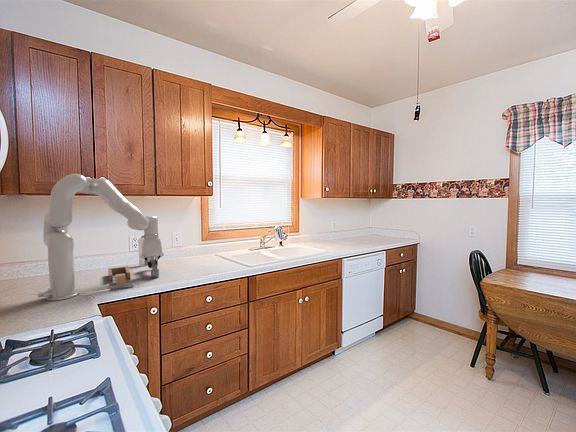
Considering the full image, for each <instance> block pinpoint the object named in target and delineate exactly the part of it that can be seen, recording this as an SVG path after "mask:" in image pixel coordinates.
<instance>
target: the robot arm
mask: <svg viewBox="0 0 576 432" xmlns="http://www.w3.org/2000/svg"><path fill="white" fill-rule="evenodd" d="M76 193H82V194H86V195H87V194H89V195H97V196H99V197H100V198H101V199H102V200H103V201H104V203H106V204H107V206H108V207H109V208H111V209H112V210H113V211H114V212H115V213H118V214H119V215H122V216H123V217H124V218H125V219H126V220H127V226H128V227H129V229H131V230H135V231H143V234H142V235H143V236H142V235H141V237H142V238H144V240H143V247H142V255H141V257H140V258H142V259H145V260H146V261H148V266H147V268H149V269H152V268H151V262H150V257H152V256H154V260H155V262H156V264H157V267H158V261H159V259H161V257H164V255H165V254H164V252H163V249H162V241H161V238H160V237H159V220H158V216H157V215H147V216H146V215H144V214H143V213H142V212H141V211H140V210H139V209H138V208H137V206H135V205H133V204H132V203H131V202H130V201H129V200H128V199H126V197H125V196H124V195H123V194H122V193H121V192H120V191H119V190H118V189H117V188H116V187H115V186H114V184H113V183H112V182H111V181H110V180H108V179H106V178H92V177H86V176H84V175H82V174H80V173H70V174H68V175H67V174H66V175H65V176H64V177H62V178H60V179H59V180H58V181H57V182H56V183H55V184H54V185H53V187H52V189H51V191H50V197H49V210H47V211H46V212H45V213H44V217H43V242H44V245H45V246H46V247H47V264H48V277H49V288H47V290H45V291H44V292H38V293H37V294H36V295H37V298H46V300H47V301H61V300H62V301H63V300H66V299H71V298H74V297H76V296H78V295H80V290H79V289H77V288H76V279H75V275H76V274H75V262H74V261H75V260H74V248H75V247H74V245H75V244H74V243H75V242H74V238H73V236H72V235H71V234H70V233H69V232H68V231H69V226H70V225H71V223H73V204H74V197H75V195H76ZM146 257H147V258H146Z"/></svg>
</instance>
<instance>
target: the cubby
mask: <svg viewBox="0 0 576 432" xmlns="http://www.w3.org/2000/svg"><path fill="white" fill-rule="evenodd" d="M107 269H108V280H109V288H110V289H109V290H110V292H113V290H114V291H118V290H119V289H120V290H126V289H131V288H134V287H133V282H132V281H131V271H130V269H129V266H119V267H112V268H107ZM124 273H125V280H126V283H124V284H118V285H116V276H115V275H117V274H124ZM125 288H126V289H125Z"/></svg>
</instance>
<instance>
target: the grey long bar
mask: <svg viewBox="0 0 576 432" xmlns="http://www.w3.org/2000/svg"><path fill="white" fill-rule="evenodd" d="M146 258H147V257H146ZM150 262H151V268H150V269H151V270H150V279H157V278H160V277H159V276H160V269H159V268H158V266H157V264H156V262H155V256H152V257H150ZM144 263H145V266H144V267H148V261H146V260H145V259H144Z"/></svg>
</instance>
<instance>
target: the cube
mask: <svg viewBox="0 0 576 432" xmlns="http://www.w3.org/2000/svg"><path fill="white" fill-rule="evenodd" d="M115 276H116V285H118V284H124V283H126V280H125V273H124V274H117V275H115Z"/></svg>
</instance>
